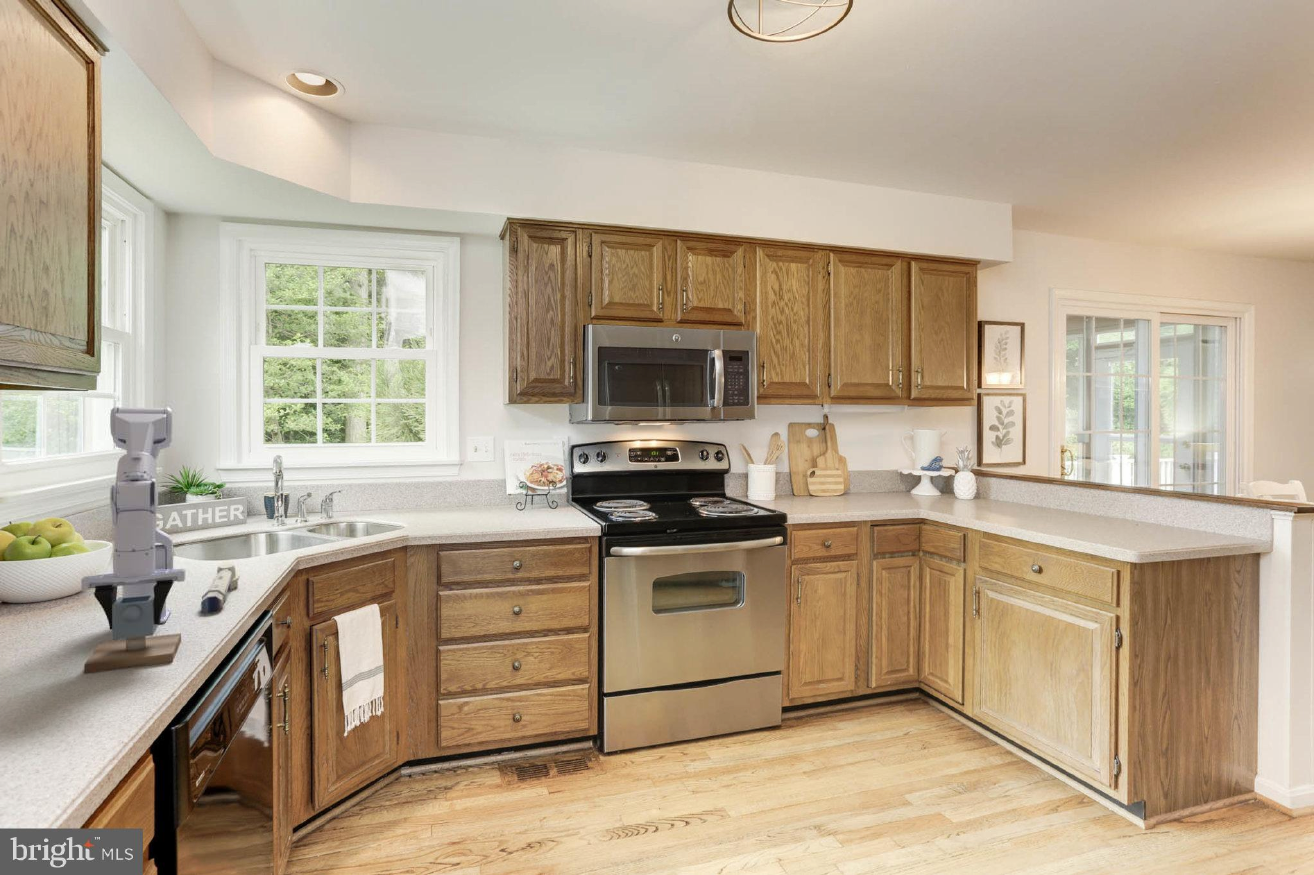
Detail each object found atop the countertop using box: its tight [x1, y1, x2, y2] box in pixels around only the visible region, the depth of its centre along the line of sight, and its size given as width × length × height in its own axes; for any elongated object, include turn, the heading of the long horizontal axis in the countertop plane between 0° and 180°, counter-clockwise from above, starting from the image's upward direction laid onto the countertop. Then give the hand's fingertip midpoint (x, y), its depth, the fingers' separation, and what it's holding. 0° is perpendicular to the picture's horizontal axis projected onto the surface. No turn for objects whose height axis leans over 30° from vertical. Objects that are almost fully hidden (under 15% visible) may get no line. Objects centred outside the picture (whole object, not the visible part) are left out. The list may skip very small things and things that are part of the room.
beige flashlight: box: [200, 562, 240, 614], centre depth 160 cm, size 5×7×25 cm
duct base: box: [83, 633, 182, 674], centre depth 122 cm, size 12×12×5 cm
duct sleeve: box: [111, 594, 159, 641], centre depth 121 cm, size 8×6×6 cm
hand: (135, 625), depth 122 cm, fingers closed on duct sleeve, 6 cm apart
